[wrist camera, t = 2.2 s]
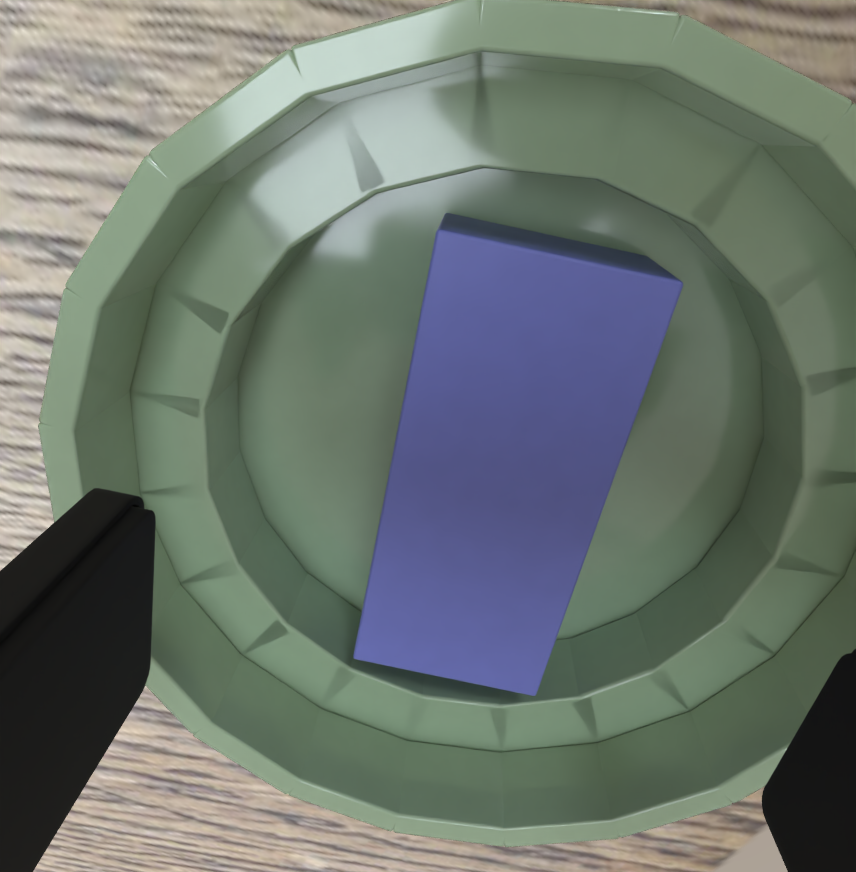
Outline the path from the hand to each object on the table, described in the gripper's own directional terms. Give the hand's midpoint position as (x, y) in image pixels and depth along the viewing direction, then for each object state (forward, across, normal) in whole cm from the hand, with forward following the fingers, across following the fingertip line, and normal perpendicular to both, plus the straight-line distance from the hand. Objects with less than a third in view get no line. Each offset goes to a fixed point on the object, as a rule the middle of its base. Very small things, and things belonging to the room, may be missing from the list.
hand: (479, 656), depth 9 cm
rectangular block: (+6, 0, 0) cm, 6 cm away
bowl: (+7, 0, 0) cm, 7 cm away
